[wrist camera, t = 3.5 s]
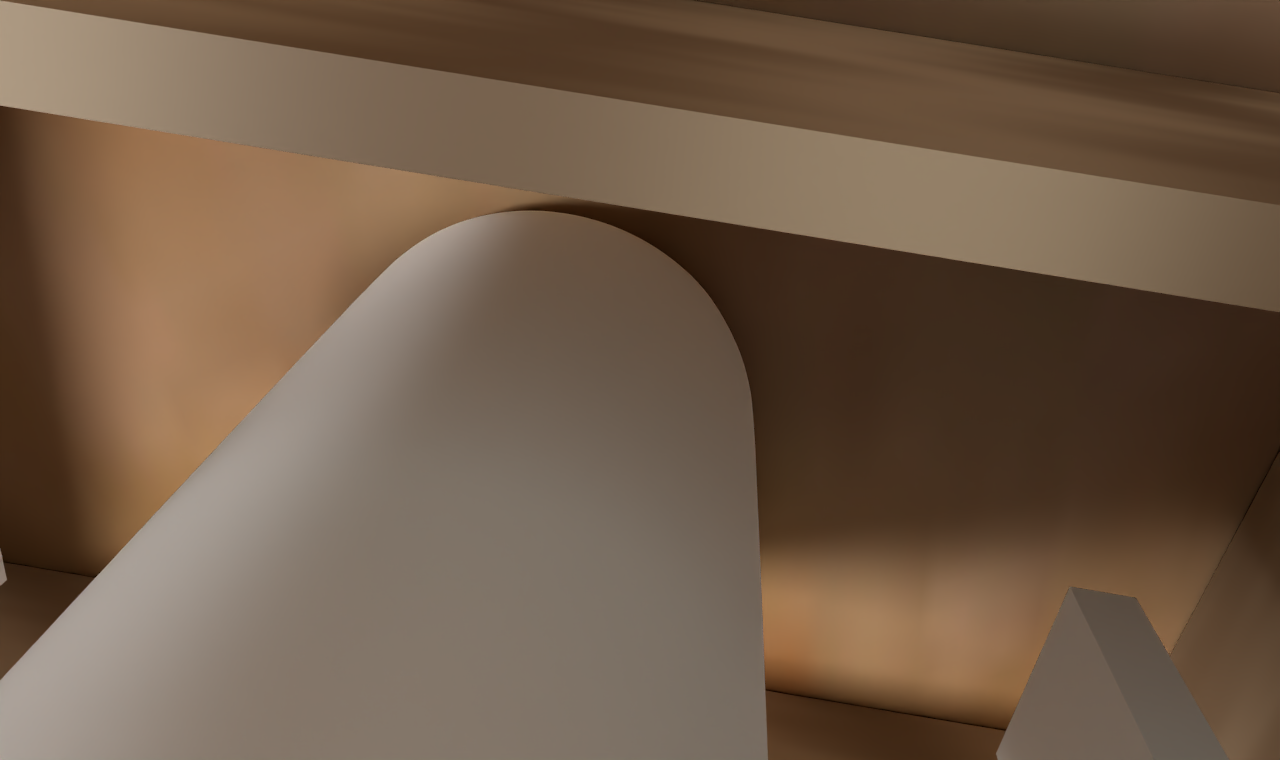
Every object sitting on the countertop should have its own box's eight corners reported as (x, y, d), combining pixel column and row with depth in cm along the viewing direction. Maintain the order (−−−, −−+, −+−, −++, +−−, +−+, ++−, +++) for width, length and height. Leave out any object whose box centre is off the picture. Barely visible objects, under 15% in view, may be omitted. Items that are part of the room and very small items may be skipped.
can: (787, 523, 16) (900, 1778, 5) (436, 582, 17) (-42, 1692, 7) (699, 152, 13) (563, 1199, 3) (289, 253, 14) (-938, 1239, 4)
